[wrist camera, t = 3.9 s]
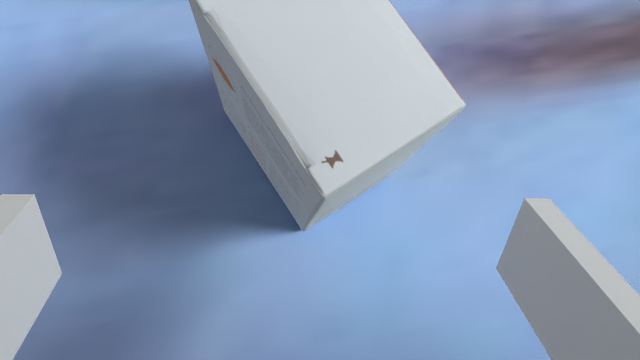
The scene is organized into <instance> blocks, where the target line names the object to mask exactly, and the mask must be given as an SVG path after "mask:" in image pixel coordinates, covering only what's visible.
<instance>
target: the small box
mask: <svg viewBox="0 0 640 360" xmlns="http://www.w3.org/2000/svg"><path fill="white" fill-rule="evenodd" d="M189 2H190V6H191V9H192V12H193V15H194V18H195V21H196V24H197V27H198V31H199V34H200V37H201V40H202V43H203V46H204V49H205V52H206V55H207V58H208V61H209V64H210V67H211V71H212V74H213V76H214V79H215V83H216V86H217V89H218V92H219V95H220V99H221V102H222V105H223V108H224V111H225V113H226V115H227V116H228V117H229V119H230V120H231V122H232V123H233V125H234V126H235V128H236V129H237V131H238V133H239V134H240V136H241V137H242V139H243V140H244V142H245V143H246V145H247V146H248V148H249V149H250V151H251V153H252V154H253V156H254V157H255V159H256V160H257V162H258V163H259V165H260V166H261V168H262V169H263V171H264V172H265V174H266V176H267V177H268V179H269V180H270V182H271V183H272V185H273V186H274V188H275V189H276V191H277V192H278V194H279V195H280V197H281V198H282V200H283V202H284V203H285V205H286V206H287V208H288V209H289V211H290V212H291V214H292V216H293V217H294V219H295V220H296V222H297V223H298V225H299V227H300V228H301V230H302V231H305V230H307V229H308V228H310V227H311V226H313V225H314V224H316V223H318V222H319V221H321V220H322V219H324V218H325V217H327V216H329V215H330V214H332V213H333V212H335V211H336V210H338V209H340V208H341V207H343V206H344V205H346V204H347V203H349V202H350V201H352V200H353V199H355V198H356V197H358V196H359V195H361V194H362V193H364V192H365V191H367V190H368V189H370V188H371V187H373V186H374V185H376V184H378V183H379V182H381V181H382V180H384V179H385V178H386V177H388V176H389V175H390V174H391V173H392V172H393V171H394V170H396V169H397V168H398V167H399V166H400V165H401V164H402V163H403V162H405V161H406V160H407V159H408V158H409V157H410V156H411V155H413V154H414V153H415V152H416V151H417V150H418V149H419V148H420V147H422V146H423V145H424V144H425V143H426V142H427V141H428V140H429V139H431V138H432V137H433V136H434V135H435V134H437V133H438V132H439V131H440V130H441V129H442V128H444V127H445V126H446V125H447V124H448V123H449V122H450V121H451V120H452V119H454V118H455V117H456V116H457V115H458V114H459V113H460V112H461V111H462V110H463V108H464V107H465V105H466V104H465V102H464V101H463V99H462V98H461V97H460V95H459V94H458V93H457V91H456V90H455V89H454V87H453V86H452V85H451V83H450V82H449V80H448V79H447V78H446V76H445V75H444V74H443V72H442V71H441V70H440V68H439V67H438V65H437V64H436V63H435V61H434V60H433V59H432V57H431V56H430V55H429V53H428V52H427V51H426V49H425V48H424V47H423V45H422V44H421V42H420V41H419V40H418V39H417V37H416V36H415V35H414V33H413V32H412V31H411V29H410V28H409V26H408V25H407V24H406V22H405V21H404V20H403V18H402V17H401V16H400V14H399V13H398V12H397V10H396V9H395V7H394V6H393V5H392V3H391V2H390V1H389V0H189Z"/></svg>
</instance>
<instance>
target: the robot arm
mask: <svg viewBox="0 0 640 360" xmlns="http://www.w3.org/2000/svg"><path fill="white" fill-rule="evenodd" d="M496 269H497V271H498V272H499V274H500V276H501V277H502V279H503V281H504V282H505V284H506V285H507V287H508V289H509V290H510V292H511V294H512V295H513V297H514V299H515V300H516V302H517V304H518V305H519V307H520V308H521V310H522V312H523V313H524V315H525V317H526V318H527V320H528V322H529V323H530V325H531V327H532V328H533V330H534V331H535V333H536V335H537V336H538V338H539V340H540V341H541V343H542V345H543V346H544V348H545V350H546V351H547V353H548V355H549V356H550V358H551V359H552V360H640V295H639V294H638V293H637V292H636V291H635V290H634V289H633V288H632V287H631V285H630V284H629V283H628V282H627V281H626V280H625V279H624V278H623V277H622V276H621V275H620V274H619V273H618V272H617V270H616V269H615V268H614V267H613V266H612V265H611V264H610V263H609V262H608V261H607V260H606V259H605V258H604V257H603V255H602V254H601V253H600V252H599V251H598V250H597V249H596V248H595V247H594V246H593V245H592V244H591V243H590V242H589V240H588V239H587V238H586V237H585V236H584V235H583V234H582V233H581V232H580V231H579V230H578V229H577V228H576V226H575V225H574V224H573V223H572V222H571V221H570V220H569V219H568V218H567V217H566V216H565V215H564V214H563V213H562V211H561V210H560V209H559V208H558V207H557V206H556V205H555V204H554V203H553V202H552V201H551V200H550V199H549V198H524V201H523V203H522V206H521V208H520V211H519V213H518V215H517V218H516V220H515V223H514V225H513V228H512V230H511V233H510V235H509V238H508V240H507V243H506V245H505V248H504V250H503V253H502V255H501V258H500V260H499V262H498V265H497V267H496ZM61 275H62V272H61V269H60V266H59V263H58V260H57V257H56V254H55V252H54V249H53V246H52V243H51V240H50V237H49V234H48V232H47V229H46V226H45V223H44V220H43V217H42V214H41V212H40V209H39V206H38V203H37V200H36V197H35V194H1V195H0V360H13V358H14V357H15V355H16V353H17V351H18V350H19V348H20V346H21V345H22V343H23V341H24V339H25V338H26V336H27V334H28V332H29V331H30V329H31V327H32V325H33V324H34V322H35V320H36V318H37V317H38V315H39V313H40V311H41V310H42V308H43V306H44V304H45V303H46V301H47V299H48V297H49V296H50V294H51V292H52V290H53V289H54V287H55V285H56V283H57V282H58V280H59V278H60V277H61Z"/></svg>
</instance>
